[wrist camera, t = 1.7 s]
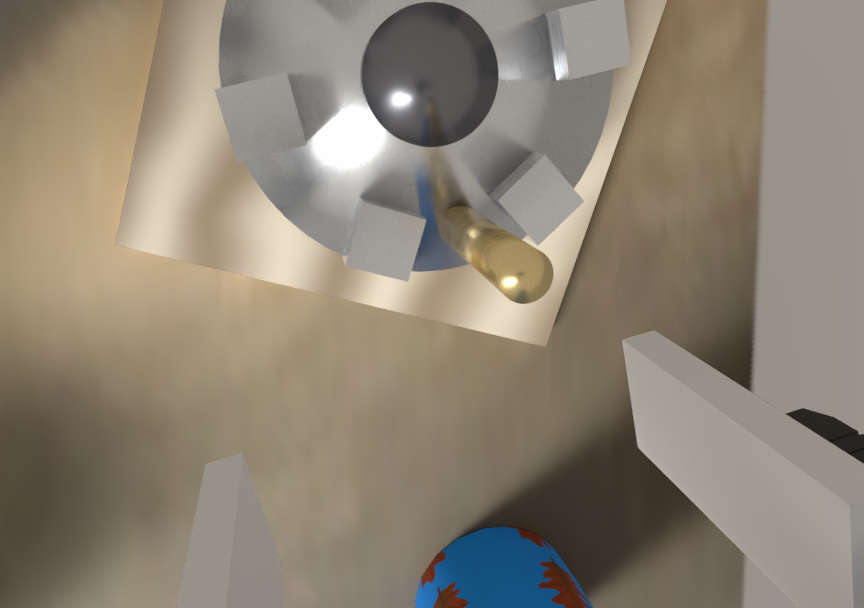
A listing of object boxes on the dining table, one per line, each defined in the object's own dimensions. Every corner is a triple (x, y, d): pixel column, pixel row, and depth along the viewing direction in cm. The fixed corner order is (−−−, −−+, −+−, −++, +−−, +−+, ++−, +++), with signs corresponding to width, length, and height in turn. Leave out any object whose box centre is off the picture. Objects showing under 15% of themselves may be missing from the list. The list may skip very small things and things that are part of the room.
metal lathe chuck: (172, -81, 32) (93, -206, 18) (548, -158, 34) (719, -318, 21) (286, 292, 37) (289, 400, 24) (602, 206, 40) (762, 262, 26)
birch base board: (121, 239, 37) (114, 246, 35) (225, -275, 31) (222, -296, 30) (536, 338, 43) (547, 348, 41) (680, -75, 38) (699, -83, 36)
